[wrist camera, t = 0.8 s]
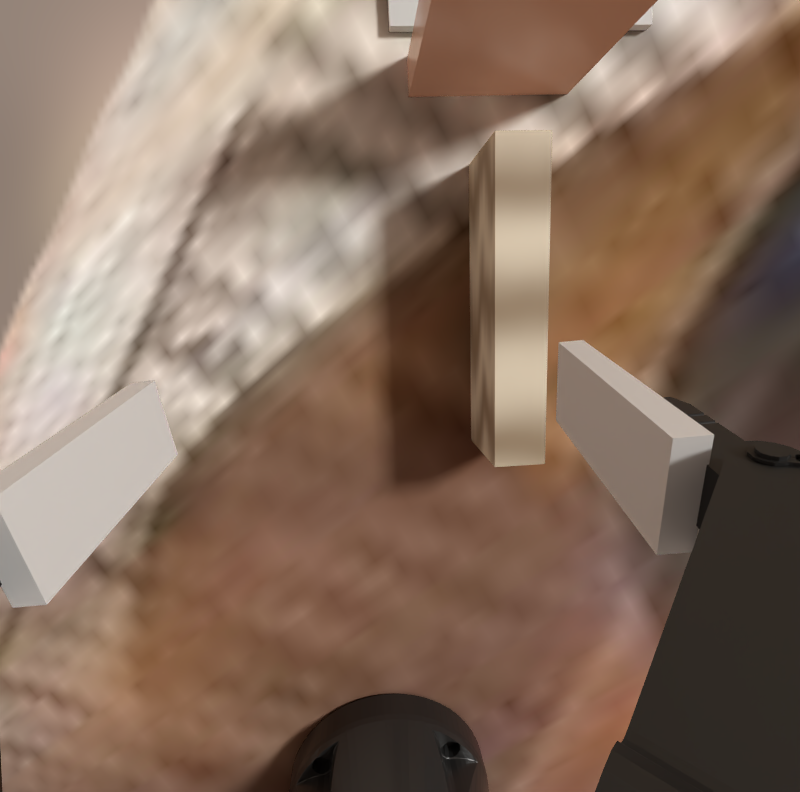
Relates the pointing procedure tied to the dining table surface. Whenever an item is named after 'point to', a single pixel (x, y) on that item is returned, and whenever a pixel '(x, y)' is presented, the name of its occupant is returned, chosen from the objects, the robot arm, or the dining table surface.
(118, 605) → the dining table surface
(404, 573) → the dining table surface
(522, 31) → the tile
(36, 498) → the robot arm
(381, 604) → the dining table surface
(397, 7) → the mat
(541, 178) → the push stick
